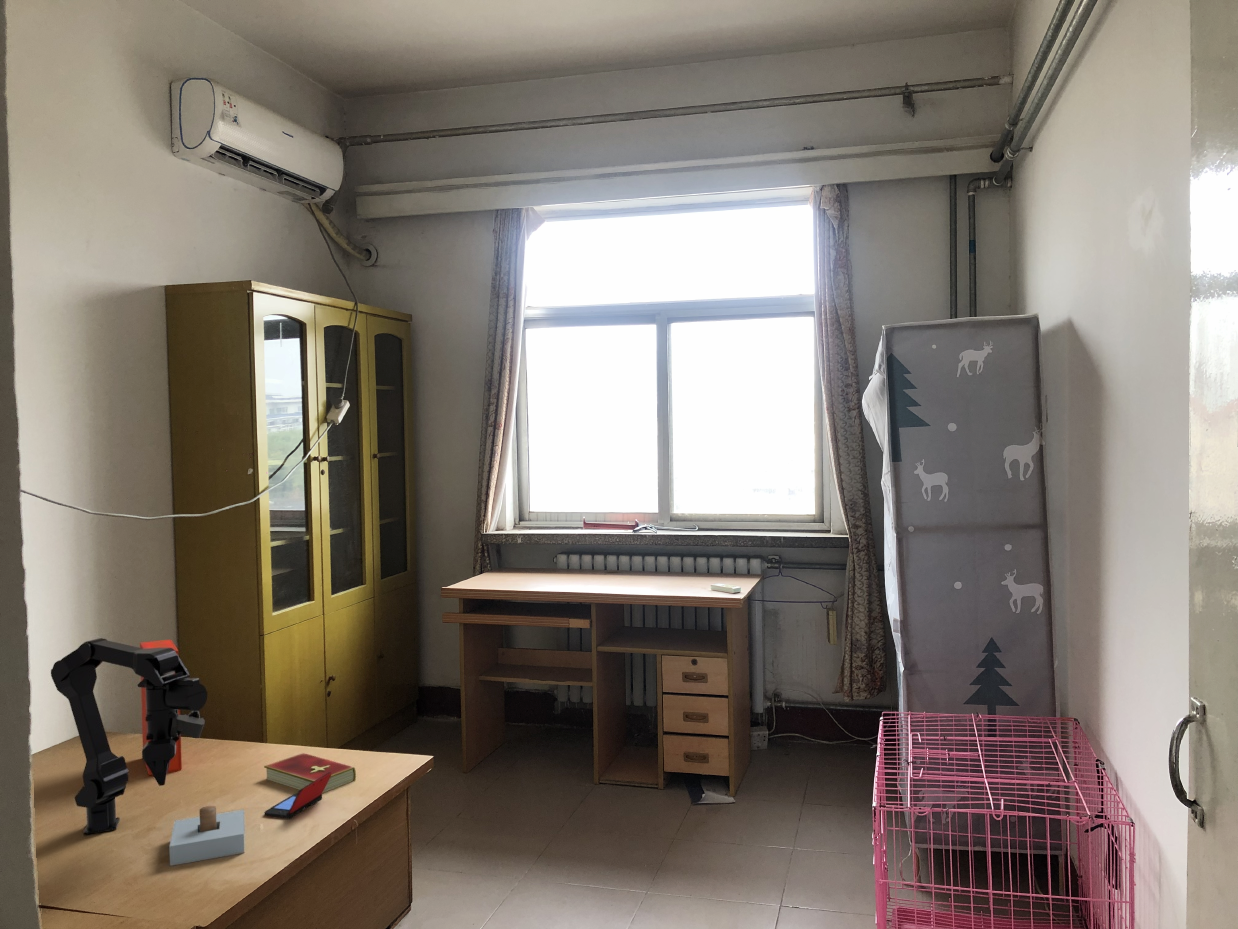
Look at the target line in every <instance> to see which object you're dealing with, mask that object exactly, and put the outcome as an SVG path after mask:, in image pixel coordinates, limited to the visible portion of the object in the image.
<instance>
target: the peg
mask: <svg viewBox="0 0 1238 929" xmlns="http://www.w3.org/2000/svg"><path fill="white" fill-rule="evenodd" d="M216 814H217V806H215V805H206V806H202V807H201V808H199V817H200V832H205V831H211V830H217V824H216Z"/></svg>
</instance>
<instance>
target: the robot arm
mask: <svg viewBox="0 0 1238 929" xmlns="http://www.w3.org/2000/svg"><path fill="white" fill-rule="evenodd" d="M179 656H180V655H179ZM179 656H178V655H177V654H176V651H175V650H174V649H172V648H149V649H143V648H140V647H138V646H133V645H130V644H125V643H119V642H116V641H112V640H111V641H110V640H108V639H106V638H103V637H100V638H96V639H95V638H94V639H91V640H87V641H84V642H83V643H82V644H80V645H79V646H78V648H76V649H75V650H73V651H72V652H70V653H69V654H67V655H65V656H64V657H62V658H61V659H60V660H57V661H56V662H54V664H53V666H52V668H51V669H50V676H51V679H52V681H53V683H54V686H55V687H56V690H57V691H58V692H59V694H61V695H62V696H64V697H65V698H66V699H67V700H68V702H69V706H70V710H71V712H72V716H73V719H74V724H75V726H76V729H77V732H78V733H77V734H78V736H79V740H80V743H81V746H82V750H83V753H84V757H85V759H86V763H85V765H84V769H83V772H82V780H83V786H82V787H81V788H80V790H79V791H78V792H77V794H76V795H75V796H74V801H75V805H76V806H77V807H79V808H80V807H81V808H85V810H86V811H85V812H86V825H85V828H84V830H83V832H82V834H83V835H90V834H97V833H104V832H109V831H114V830H115V831H116V830H117V828H118V825H119V822H120V819H121V818H120V817H119V816H117V810H116V798H118V797H120V796H123V795H124V794H125V791H126V787H127V784H128V782H129V773H130V771H129V769H128V767H127V763H126V758H125V757H124V756H123V755H119V756H117V755H116V754H115V753H114V752H112V750H111V746H110V744H109V740H108V737H107V734H106V730H105V729H106V728H105V726H104V723H103V720H102V717H101V714H100V709H99V706H98V703H97V700H96V697H95V692H94V689H95V685H96V682H97V679H98V675H97V668H98V667H99V666H100V665H101V664H103V662H104V663H108V664H111V665H116V666H120V667H125V668H128V669H131V670H133V671H134V673H135V675H137V676H139V677H140V678H141V677H143V678H144V679H143V680H142V681H141V680H140V682H139V683H138V684H137V685H136V686H137V687H138V688H141V687H142V688H146V712H147V714H146V721H147V735H146V740H150V741H148V742H147V743H146V744H145V745H144V747H143V746H142V750H141V759H142V760H143V763H144V764H145V763H146V764H147V766H148V767H149V769H150V771H151V772H152V774H153V778H154V779H155V782H156V783H157V784H158V786H159V787H161V786H165V784H166V779H167V774H168V773H167V771H168V770H169V764H170V760H171V759H172V758H174V757H175V754H176V742H177V741H178V740H179V738H180V734H181V736H188V737H192V738H193V739H200V737H201V735H202V731H203V729H204V726H205V723H206V722H205V719H204V717H201V716H200V715H201V714H200V710H201V709H202V708H203V707H204V706H205V705H206V704H207V700H208V696H209V694H208V690H207V689H206V686H204V685H203V684H202V683H201V682H200V678H199V677H192V678H191V674H190V673H189V671H188V669H187V668H186V666H185V664H184V662H183V661H182V659H181V657H179ZM174 672H175V674H172V675H169V676H165V675H168V674H171V673H174ZM161 676H165V677H162V678H161ZM178 710H180V711H189V713H188V714H180V715H179V714H178ZM146 764H145V765H146Z"/></svg>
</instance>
